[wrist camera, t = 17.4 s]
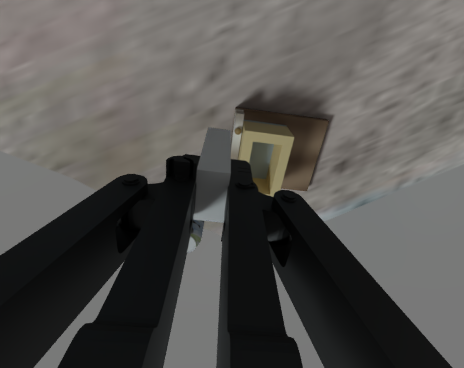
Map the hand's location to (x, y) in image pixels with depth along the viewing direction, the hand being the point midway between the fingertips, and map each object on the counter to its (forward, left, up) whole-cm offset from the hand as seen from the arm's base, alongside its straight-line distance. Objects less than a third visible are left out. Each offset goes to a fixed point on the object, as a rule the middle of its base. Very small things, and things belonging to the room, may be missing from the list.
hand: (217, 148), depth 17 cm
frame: (+9, +7, -23) cm, 26 cm away
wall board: (+9, +10, -24) cm, 28 cm away
